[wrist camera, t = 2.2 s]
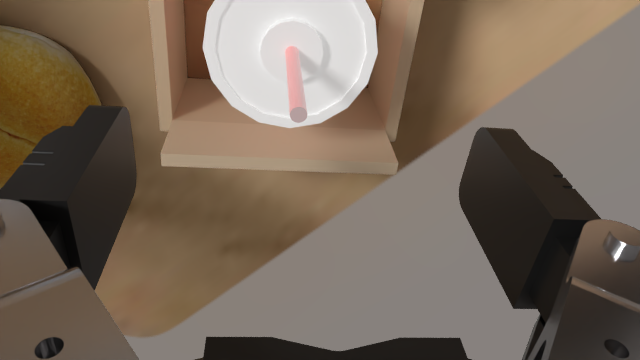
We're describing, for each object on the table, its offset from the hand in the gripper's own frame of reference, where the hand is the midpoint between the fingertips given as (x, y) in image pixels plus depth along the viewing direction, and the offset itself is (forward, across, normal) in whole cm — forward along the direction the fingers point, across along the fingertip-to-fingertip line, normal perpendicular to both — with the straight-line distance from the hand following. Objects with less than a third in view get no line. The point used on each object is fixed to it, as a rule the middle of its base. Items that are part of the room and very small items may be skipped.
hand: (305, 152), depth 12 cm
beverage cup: (+16, 0, 0) cm, 16 cm away
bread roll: (+16, +14, +7) cm, 23 cm away
